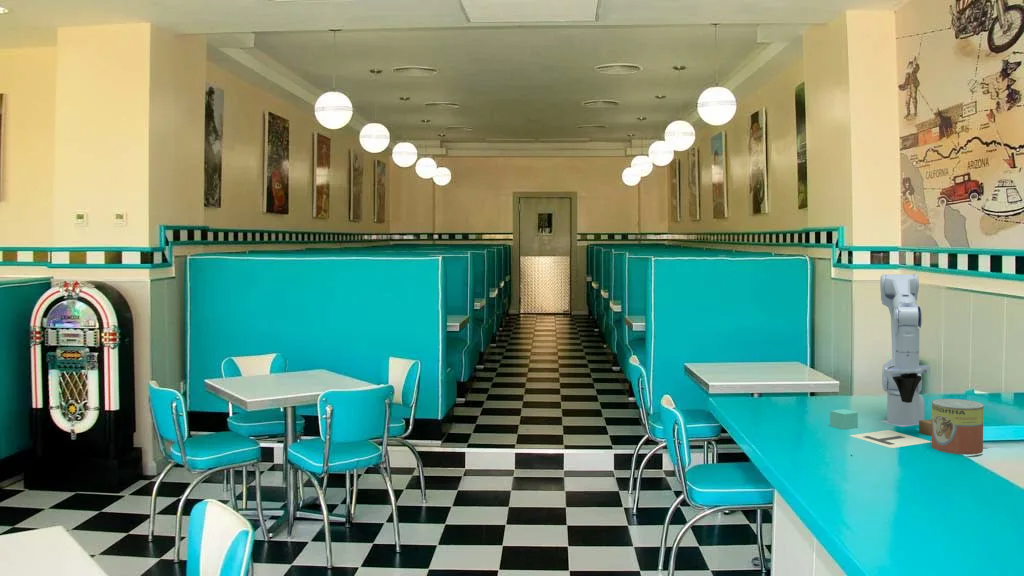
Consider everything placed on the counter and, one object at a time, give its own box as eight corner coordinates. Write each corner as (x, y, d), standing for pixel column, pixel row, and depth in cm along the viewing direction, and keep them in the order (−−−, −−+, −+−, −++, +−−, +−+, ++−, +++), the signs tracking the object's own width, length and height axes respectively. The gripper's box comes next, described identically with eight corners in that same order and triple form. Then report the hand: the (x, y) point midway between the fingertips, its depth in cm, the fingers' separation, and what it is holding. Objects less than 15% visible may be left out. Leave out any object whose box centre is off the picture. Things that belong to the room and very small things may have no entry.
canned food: (920, 448, 197) (921, 401, 196) (951, 443, 202) (952, 397, 201) (962, 459, 187) (962, 410, 186) (993, 453, 191) (994, 405, 191)
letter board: (888, 432, 214) (888, 429, 214) (932, 444, 201) (932, 441, 201) (848, 437, 209) (848, 435, 209) (891, 450, 196) (891, 448, 196)
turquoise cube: (844, 426, 222) (844, 409, 221) (857, 430, 217) (857, 412, 217) (830, 428, 220) (830, 410, 220) (843, 432, 215) (843, 414, 215)
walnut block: (918, 435, 210) (931, 433, 211) (929, 438, 207) (942, 437, 207) (918, 420, 210) (931, 419, 211) (930, 423, 206) (942, 422, 207)
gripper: (899, 355, 201) (898, 407, 202) (940, 351, 206) (939, 402, 207) (877, 352, 207) (876, 402, 208) (917, 348, 213) (916, 397, 214)
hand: (906, 402), depth 208 cm, fingers closed
